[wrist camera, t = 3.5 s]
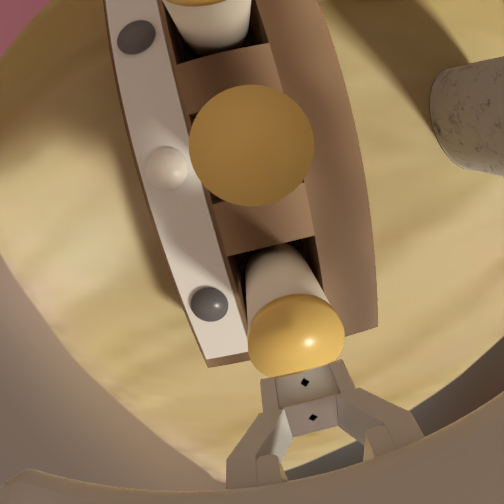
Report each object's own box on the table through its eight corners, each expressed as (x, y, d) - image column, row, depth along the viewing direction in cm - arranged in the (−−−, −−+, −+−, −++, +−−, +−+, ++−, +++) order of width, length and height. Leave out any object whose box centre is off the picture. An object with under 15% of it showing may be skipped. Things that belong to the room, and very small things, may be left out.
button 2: (301, 234, 18) (340, 291, 11) (311, 291, 20) (346, 367, 12) (237, 250, 19) (236, 317, 11) (252, 306, 20) (260, 388, 13)
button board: (283, -19, 15) (293, -54, 10) (354, 294, 23) (377, 326, 19) (127, 18, 15) (102, -8, 11) (212, 328, 24) (207, 367, 19)
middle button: (272, 107, 16) (298, 74, 8) (288, 173, 17) (325, 191, 10) (203, 123, 16) (175, 103, 9) (220, 189, 17) (206, 219, 10)
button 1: (240, -3, 13) (242, -77, 6) (256, 49, 14) (269, -15, 7) (176, 13, 13) (142, -53, 6) (188, 65, 15) (154, 11, 7)
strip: (153, -18, 11) (151, -22, 10) (250, 348, 19) (250, 352, 18) (107, 0, 11) (104, -3, 10) (206, 356, 19) (206, 361, 18)
